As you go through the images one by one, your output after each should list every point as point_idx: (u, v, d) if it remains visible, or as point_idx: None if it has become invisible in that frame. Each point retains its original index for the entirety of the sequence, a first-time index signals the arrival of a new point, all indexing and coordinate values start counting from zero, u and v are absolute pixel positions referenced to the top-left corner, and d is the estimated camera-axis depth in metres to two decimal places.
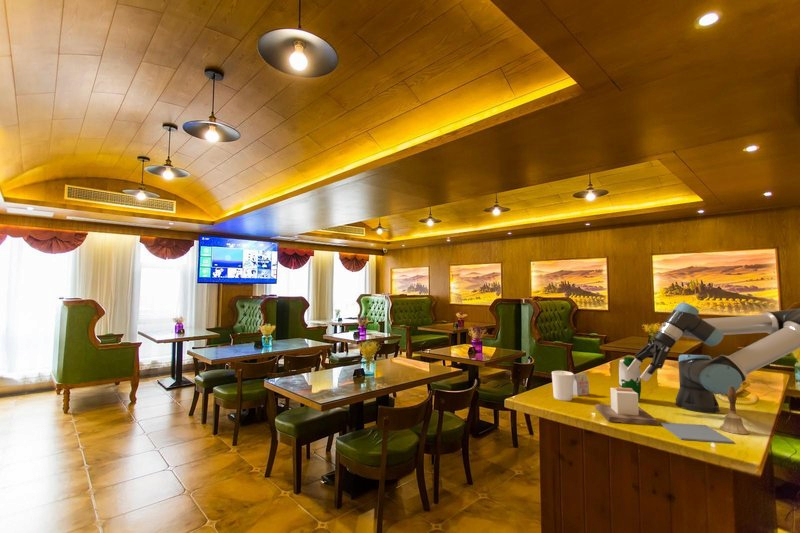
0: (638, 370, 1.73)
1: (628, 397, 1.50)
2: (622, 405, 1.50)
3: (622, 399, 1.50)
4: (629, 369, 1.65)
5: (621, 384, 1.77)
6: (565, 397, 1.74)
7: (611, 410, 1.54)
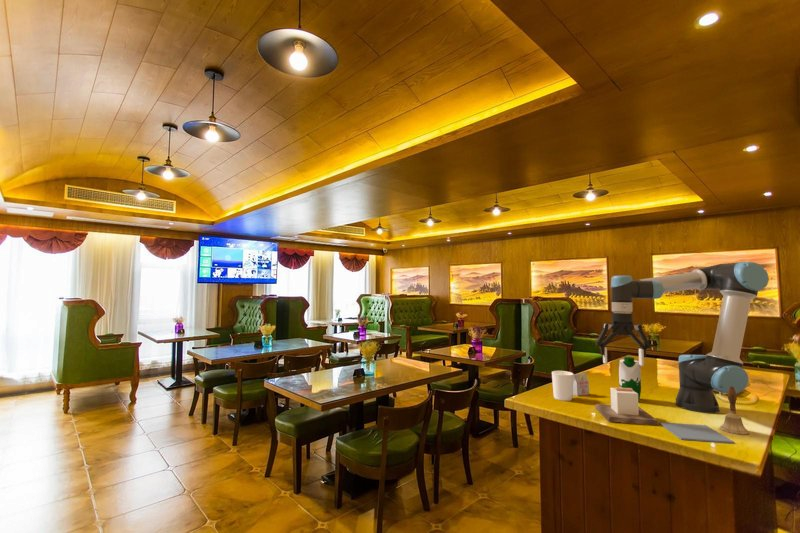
0: (638, 370, 1.73)
1: (628, 397, 1.50)
2: (622, 405, 1.50)
3: (622, 399, 1.50)
4: None
5: (621, 384, 1.77)
6: (565, 397, 1.74)
7: (611, 410, 1.54)
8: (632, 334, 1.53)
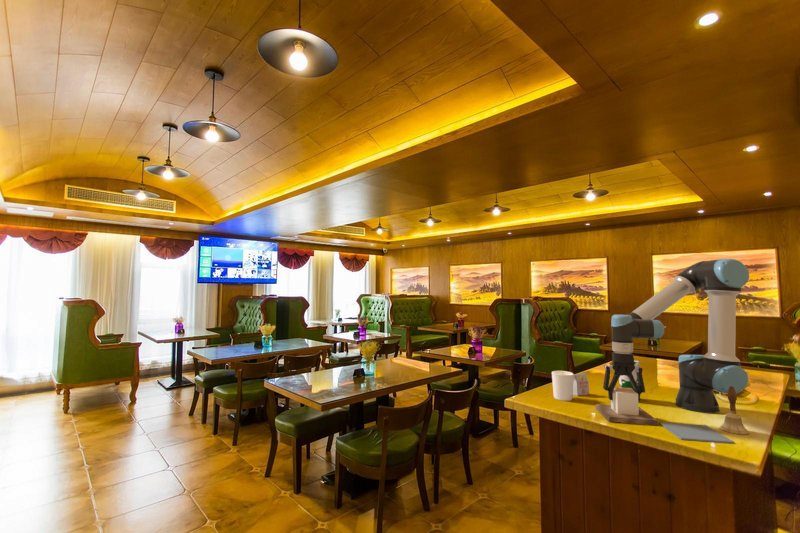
0: None
1: (628, 397, 1.50)
2: (622, 405, 1.50)
3: (622, 399, 1.50)
4: None
5: (621, 384, 1.77)
6: (565, 397, 1.74)
7: (611, 410, 1.54)
8: (631, 376, 1.52)
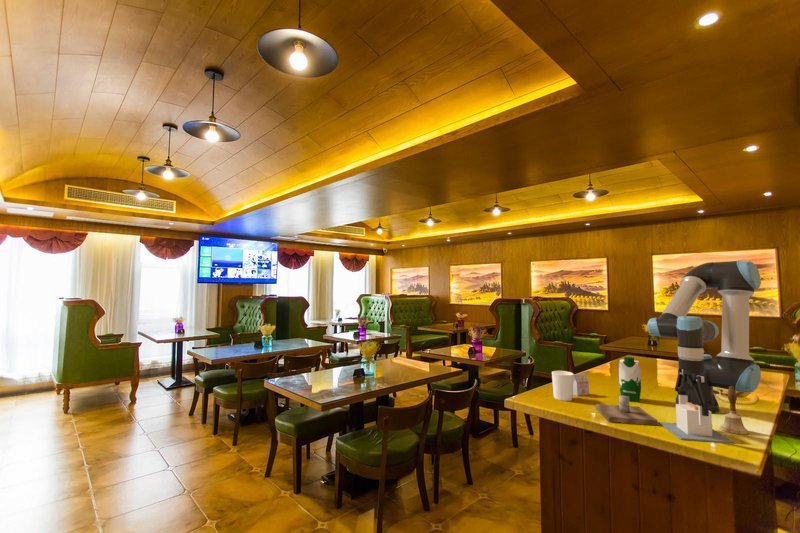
0: (638, 370, 1.73)
1: None
2: None
3: None
4: None
5: (621, 384, 1.77)
6: (565, 397, 1.74)
7: (611, 410, 1.54)
8: None
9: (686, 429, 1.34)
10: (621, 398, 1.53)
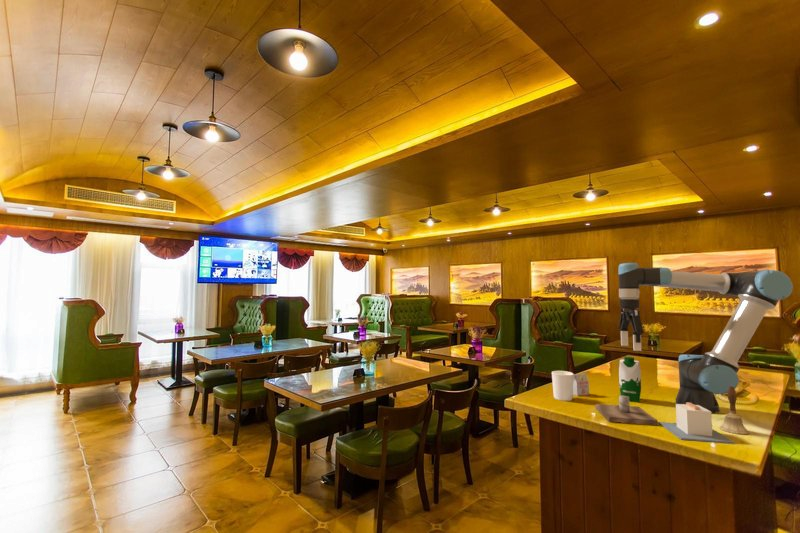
0: (638, 370, 1.73)
1: None
2: None
3: None
4: None
5: (621, 384, 1.77)
6: (565, 397, 1.74)
7: (611, 410, 1.54)
8: None
9: (686, 429, 1.34)
10: (621, 398, 1.53)
